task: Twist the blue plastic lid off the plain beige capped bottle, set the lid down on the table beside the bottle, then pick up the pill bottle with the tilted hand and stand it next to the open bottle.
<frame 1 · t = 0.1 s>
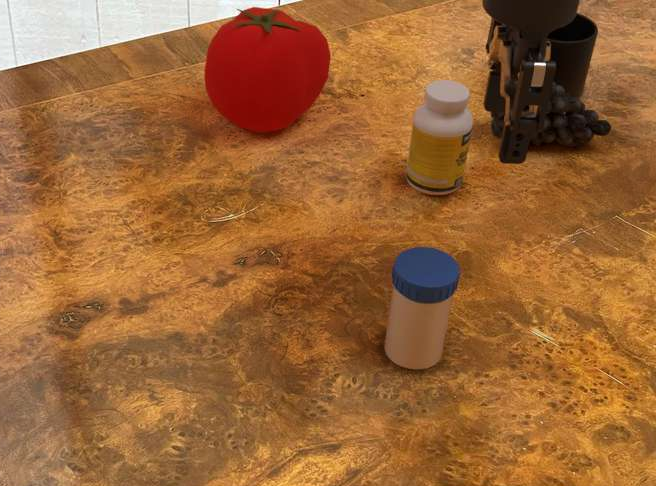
hand: (502, 134, 94), 19 cm above the table, tool pointing down, fingers open, 8 cm apart
jar lid: (426, 269, 93), point 10 cm above the table, screwed on, not yet turned
black cylindrical cup: (544, 86, 139), on the table
fruit: (541, 143, 128), on the table
plain beige capped bottle: (413, 349, 100), on the table
tomato: (266, 118, 131), on the table
pill bottle: (433, 182, 121), on the table
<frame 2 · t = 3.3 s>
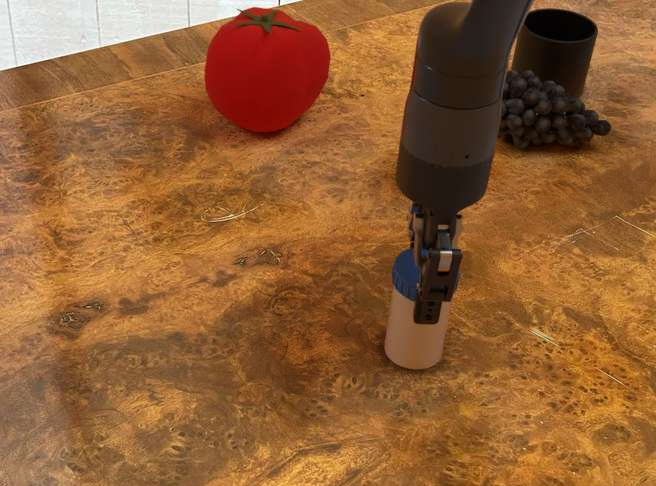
hand: (421, 297, 96), 6 cm above the table, tool pointing down, fingers closed on jar lid, 5 cm apart
jar lid: (426, 269, 93), point 10 cm above the table, screwed on, not yet turned, touching gripper
everything else where it was.
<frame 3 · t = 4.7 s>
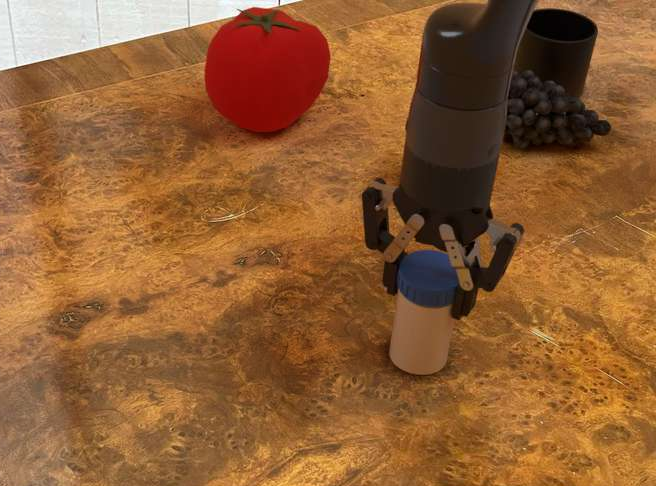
hand: (426, 301, 95), 7 cm above the table, tool pointing down, fingers closed on jar lid, 5 cm apart
jar lid: (431, 272, 93), point 10 cm above the table, turned 55° so far, risen 0.1 cm, still on its thread, touching gripper
everything else where it was.
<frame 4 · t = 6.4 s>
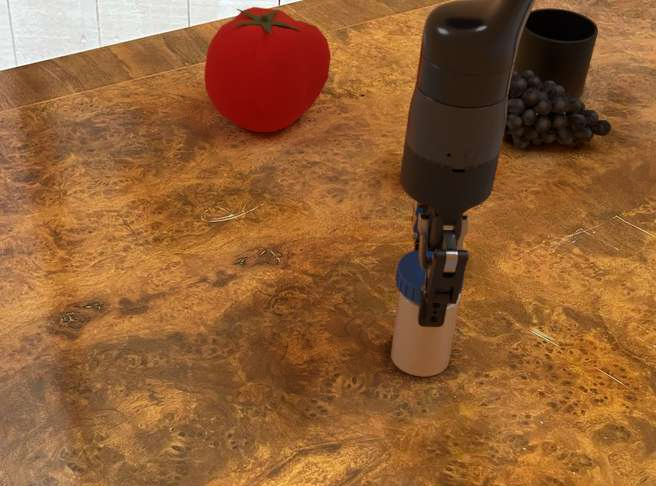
hand: (426, 300, 95), 7 cm above the table, tool pointing down, fingers closed on jar lid, 5 cm apart
jar lid: (430, 271, 93), point 10 cm above the table, off its thread, touching gripper, plain beige capped bottle
plain beige capped bottle: (419, 356, 99), on the table, touching gripper, jar lid
everything else where it was.
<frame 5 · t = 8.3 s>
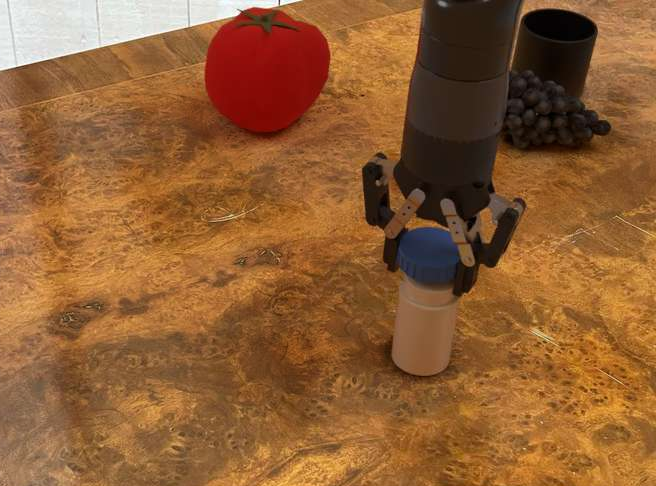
hand: (427, 278, 94), 9 cm above the table, tool pointing down, fingers closed on jar lid, 5 cm apart
jar lid: (432, 249, 92), point 12 cm above the table, off its thread, touching gripper
plain beige capped bottle: (420, 356, 99), on the table, touching gripper
everything else where it was.
when the fingers open (0 cm above the table, at t = 15.0 s): jar lid drops 2 cm, point 1 cm above the table.
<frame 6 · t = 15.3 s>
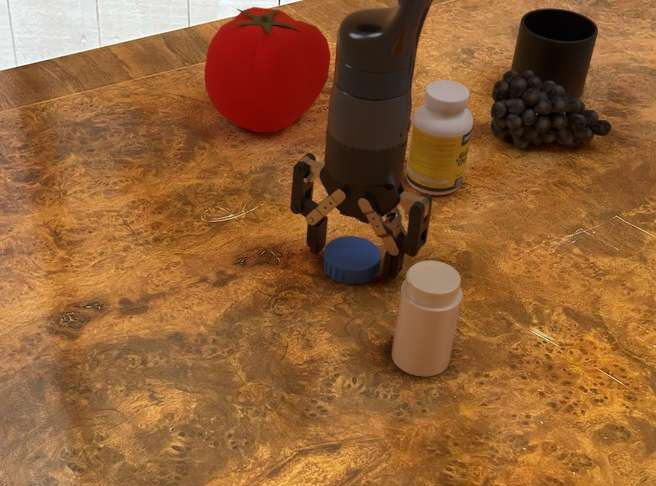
hand: (352, 263, 108), 0 cm above the table, tool pointing down, fingers open, 7 cm apart
jar lid: (352, 255, 108), point 1 cm above the table, off its thread
plain beige capped bottle: (420, 356, 99), on the table
everything else where it was.
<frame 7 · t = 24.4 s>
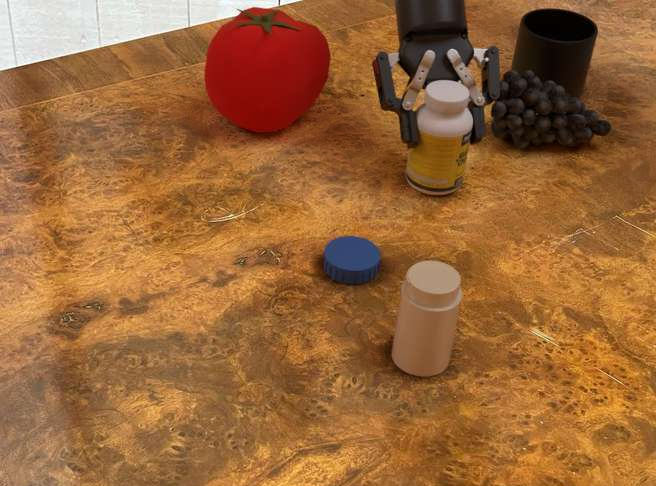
hand: (444, 144, 116), 6 cm above the table, tool tilted 45°, fingers closed on pill bottle, 6 cm apart
pill bottle: (433, 182, 121), on the table, touching gripper
everything else where it was.
when the fingers open (6 cm above the table, at t = 33.7 s): pill bottle stays where it is, on the table.
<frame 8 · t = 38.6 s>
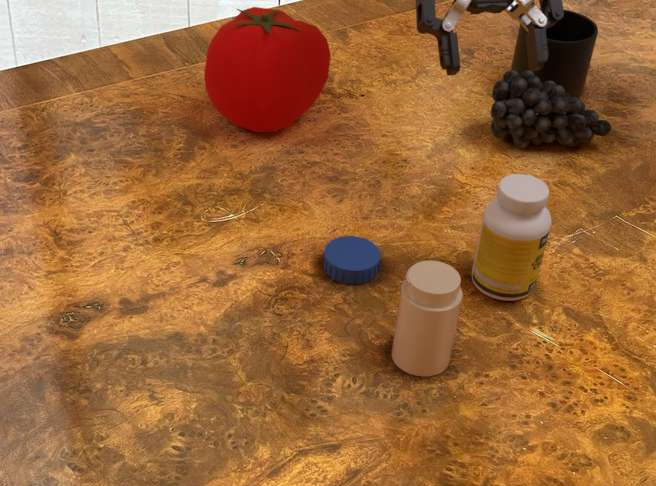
hand: (495, 71, 104), 18 cm above the table, tool tilted 45°, fingers open, 8 cm apart
pill bottle: (502, 284, 108), on the table
everything else where it was.
at the end: jar lid inside the target area (0.2 cm from its centre), point 1.5 cm above the table; the gripper is holding nothing; pill bottle inside the target area (0.2 cm from its centre), on the table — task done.
